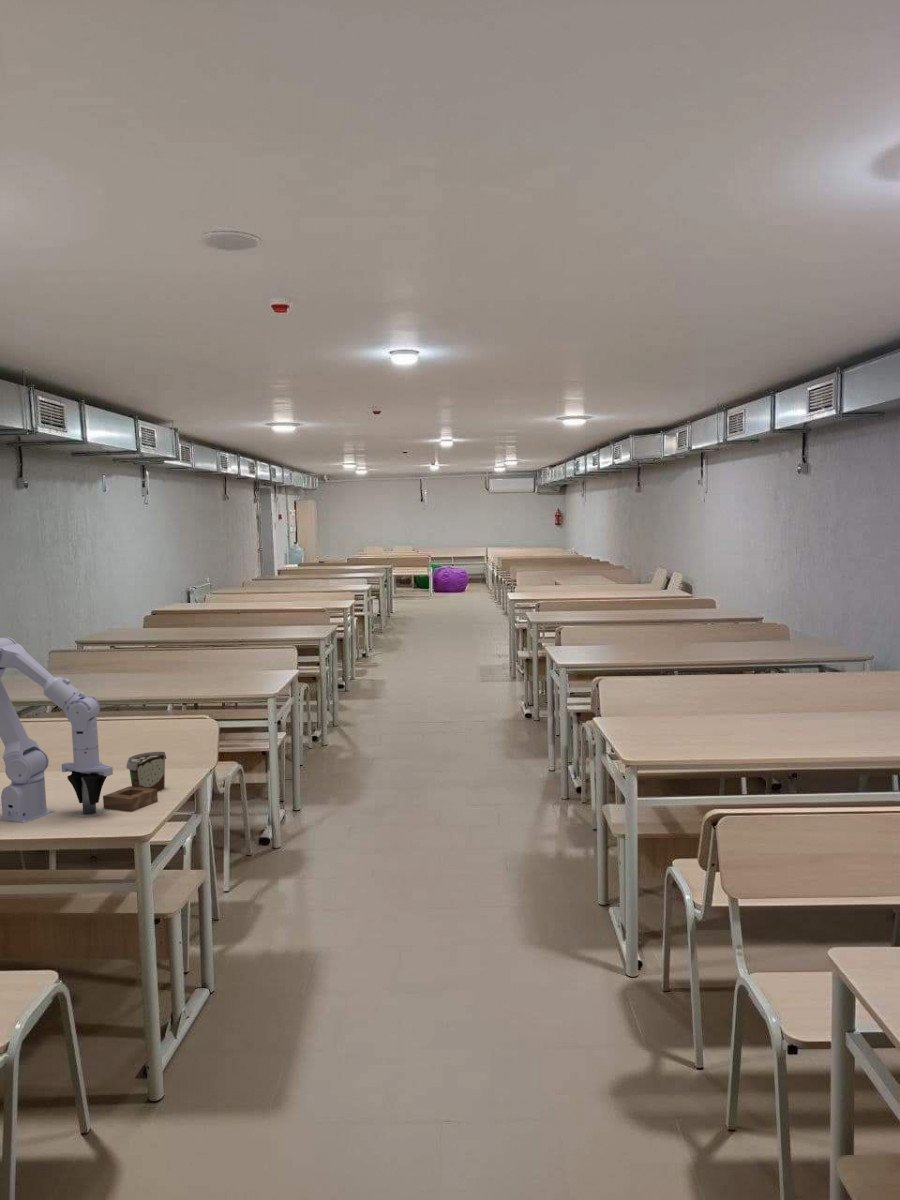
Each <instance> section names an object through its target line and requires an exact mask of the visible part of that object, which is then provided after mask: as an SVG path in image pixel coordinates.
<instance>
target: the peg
mask: <svg viewBox="0 0 900 1200" xmlns="http://www.w3.org/2000/svg"><path fill="white" fill-rule="evenodd" d="M86 776H89V775H84V776H81V789H82V803H81V804H82V811H83V814H84V815H90V814H94V813H96V809H97V803H96V804H93V805H91V804H90V801H89V794H88V789H87V785H86V783H85V781H84V779H83V777H86Z"/></svg>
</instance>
